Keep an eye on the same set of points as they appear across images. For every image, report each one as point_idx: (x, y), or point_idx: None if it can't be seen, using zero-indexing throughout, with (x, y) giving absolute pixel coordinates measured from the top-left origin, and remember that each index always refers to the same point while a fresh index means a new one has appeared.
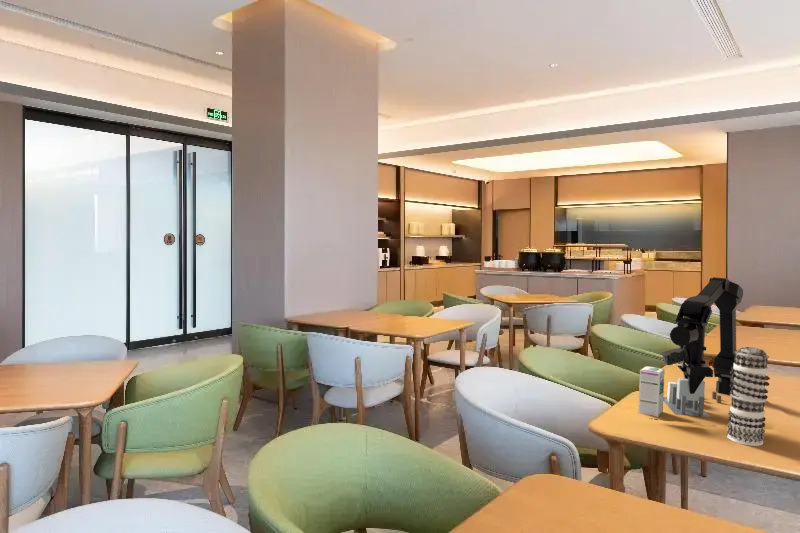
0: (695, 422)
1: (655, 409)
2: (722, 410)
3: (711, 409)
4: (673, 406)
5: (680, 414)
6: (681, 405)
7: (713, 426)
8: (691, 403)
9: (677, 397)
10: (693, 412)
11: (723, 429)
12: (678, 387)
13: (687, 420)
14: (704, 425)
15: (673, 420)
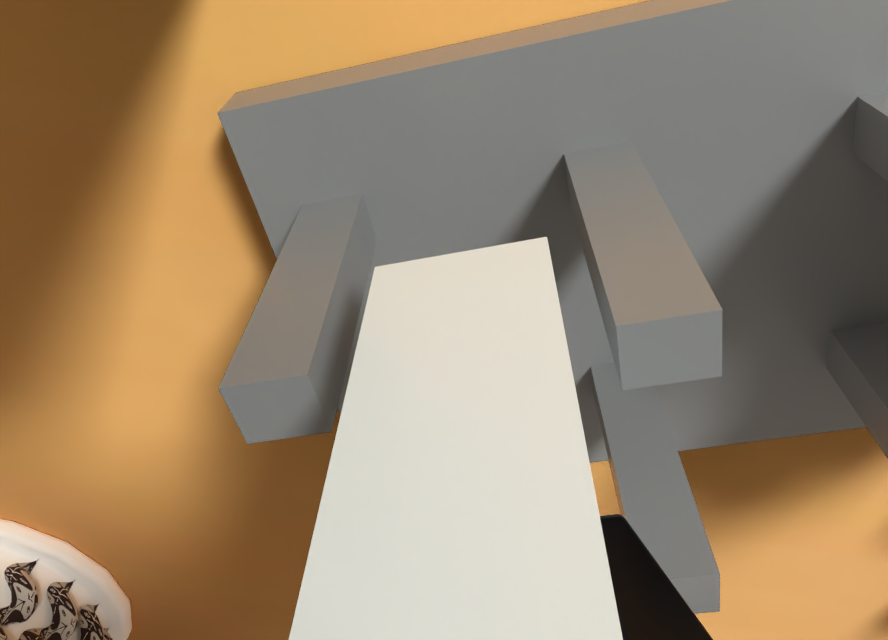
0: (226, 322)
1: None
2: (835, 568)
3: (850, 498)
4: (683, 109)
5: (261, 190)
6: (303, 264)
7: (207, 456)
8: (838, 372)
9: (474, 257)
10: None
11: (173, 512)
12: (437, 430)
13: (248, 246)
14: (177, 391)
15: (108, 66)
